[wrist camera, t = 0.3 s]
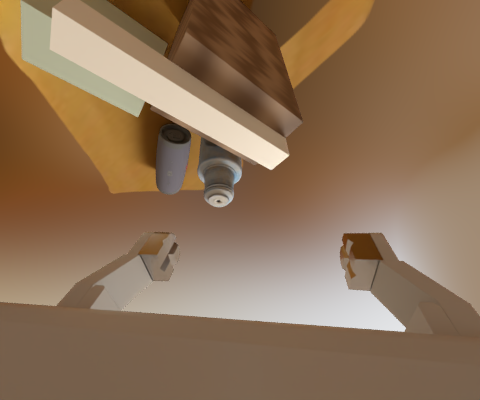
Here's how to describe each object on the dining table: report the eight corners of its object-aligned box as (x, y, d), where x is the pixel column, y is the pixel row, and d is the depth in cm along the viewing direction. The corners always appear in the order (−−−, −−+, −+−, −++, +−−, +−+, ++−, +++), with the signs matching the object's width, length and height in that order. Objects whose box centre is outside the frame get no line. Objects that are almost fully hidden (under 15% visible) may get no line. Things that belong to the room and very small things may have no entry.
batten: (66, 33, 21) (49, 49, 19) (71, -6, 19) (52, 7, 17) (268, 153, 34) (271, 170, 32) (285, 138, 32) (289, 155, 30)
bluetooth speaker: (184, 176, 83) (181, 198, 77) (157, 170, 80) (152, 193, 74) (194, 125, 65) (191, 149, 59) (161, 117, 63) (154, 141, 57)
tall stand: (179, 22, 45) (149, 109, 28) (204, -34, 39) (186, 32, 21) (246, 74, 54) (254, 165, 36) (275, 34, 47) (303, 121, 30)
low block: (63, 24, 45) (21, 59, 36) (68, -27, 39) (20, -1, 30) (153, 78, 54) (138, 117, 45) (167, 43, 48) (154, 80, 39)
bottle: (238, 94, 58) (243, 185, 40) (238, 127, 66) (242, 214, 48) (201, 95, 58) (190, 186, 40) (206, 127, 66) (198, 215, 48)
